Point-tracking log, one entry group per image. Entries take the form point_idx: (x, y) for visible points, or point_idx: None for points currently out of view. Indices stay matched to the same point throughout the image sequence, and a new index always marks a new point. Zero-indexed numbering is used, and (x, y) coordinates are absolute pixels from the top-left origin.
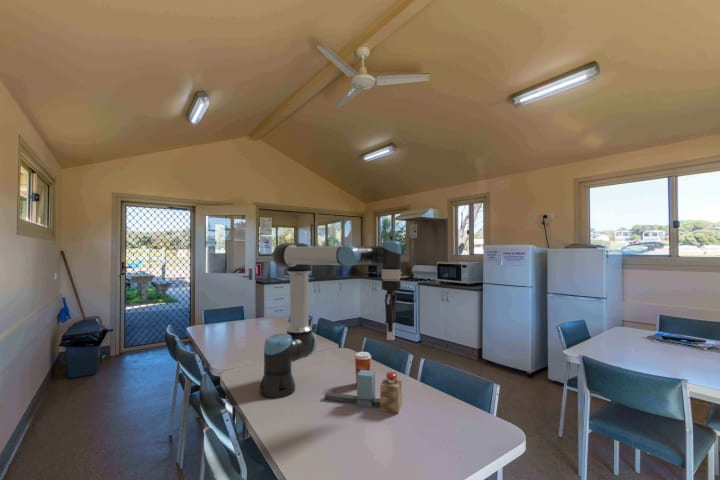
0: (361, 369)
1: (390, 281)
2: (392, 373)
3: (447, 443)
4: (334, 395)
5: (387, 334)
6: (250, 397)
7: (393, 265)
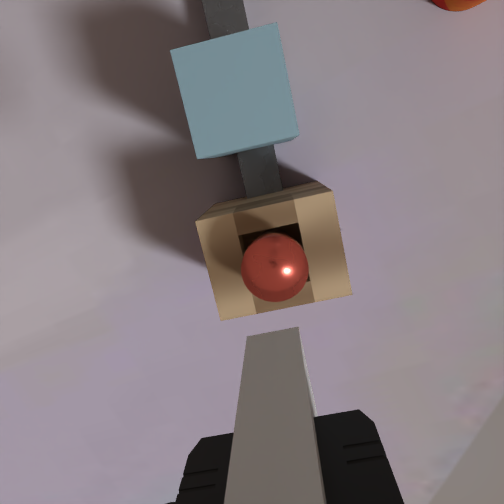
0: None
1: None
2: (290, 270)
3: (133, 476)
4: None
5: (244, 379)
6: None
7: None
